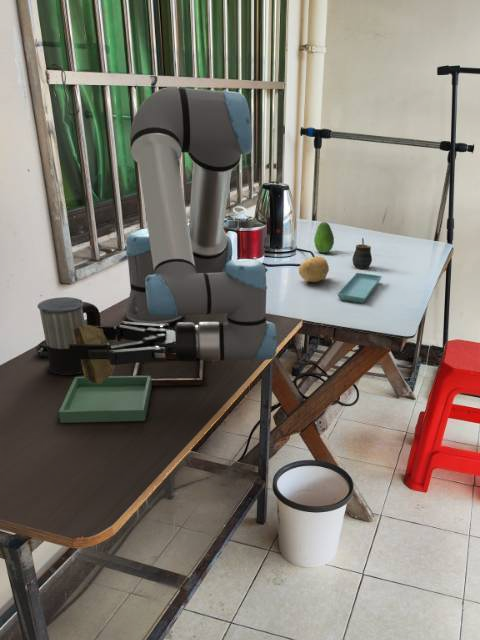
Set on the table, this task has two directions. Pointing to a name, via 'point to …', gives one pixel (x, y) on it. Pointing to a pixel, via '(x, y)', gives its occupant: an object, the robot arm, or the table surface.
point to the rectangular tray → (359, 287)
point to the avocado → (324, 238)
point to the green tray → (107, 400)
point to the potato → (314, 269)
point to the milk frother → (64, 331)
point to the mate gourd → (362, 256)
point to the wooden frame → (174, 381)
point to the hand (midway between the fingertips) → (75, 342)
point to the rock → (93, 367)
